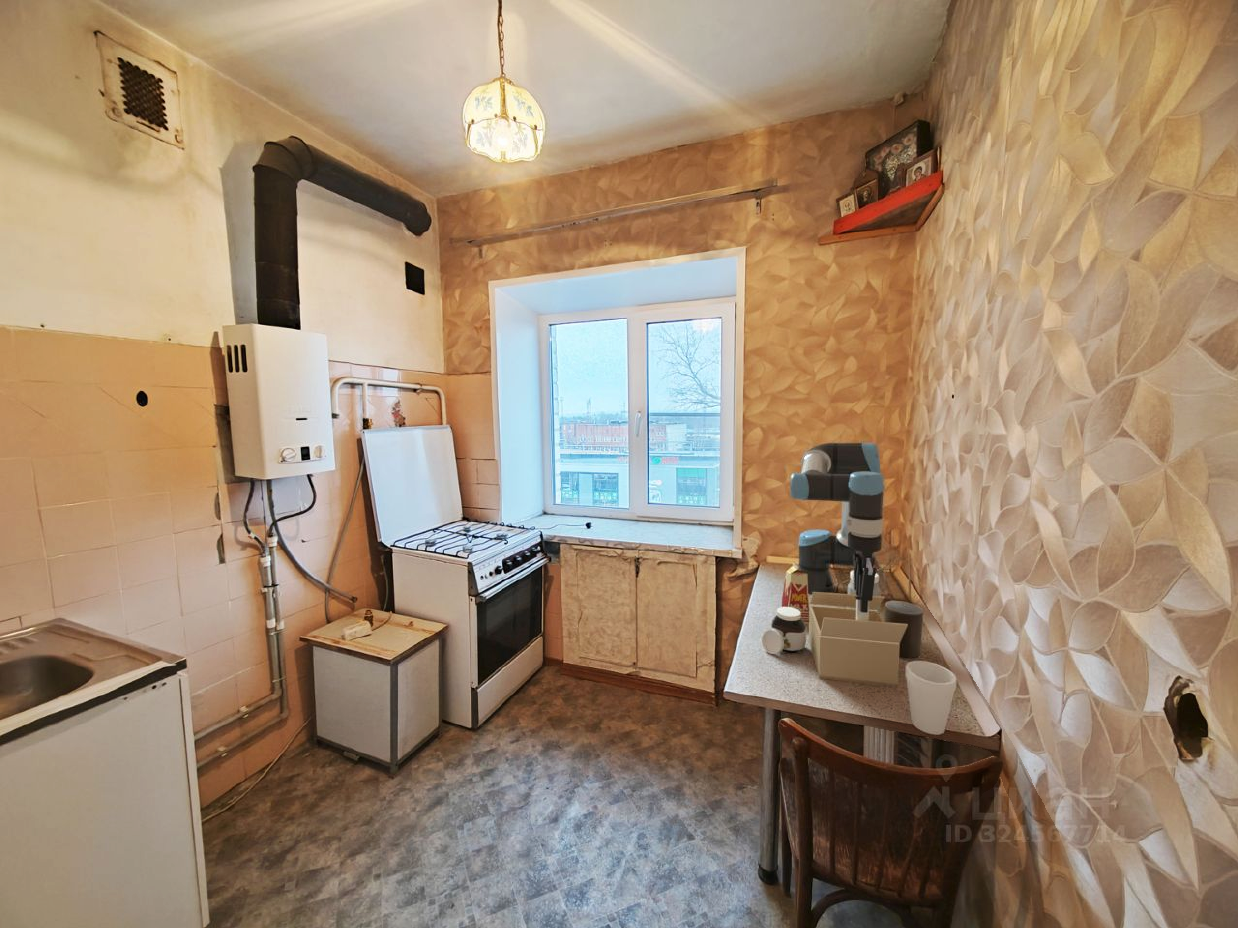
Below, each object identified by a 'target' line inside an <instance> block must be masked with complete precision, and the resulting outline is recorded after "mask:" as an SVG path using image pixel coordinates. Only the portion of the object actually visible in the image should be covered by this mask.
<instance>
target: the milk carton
mask: <svg viewBox="0 0 1238 928" xmlns="http://www.w3.org/2000/svg"><path fill="white" fill-rule="evenodd" d="M798 568H799V565H796V564H795V563H794V562H793V563H792V566H791V567H790V568H789V569H788V570H786V572H785V578H784V582H783V588H782V596H781V605H780V607H792V608H795V609H797V610H799V611H800V613H801V619H802V620H803V621H804V623H805V625H806V626H809V605H810V599H809V598H810V596H809V593H808V578H807V573H805V572H803V571H801V570H799V569H798Z"/></svg>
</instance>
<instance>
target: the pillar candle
mask: <svg viewBox="0 0 1238 928" xmlns="http://www.w3.org/2000/svg"><path fill="white" fill-rule="evenodd" d="M923 616H924V610H923V609H922V607H920V606H919V605H916V604H913V603H910V602H906V601H901V600H890V601H887V602H885V604H884V616H883V617H884V618H883V620H884V622H889V623H901V624H908V626H907V628H906V630H905V633H904V635H903V637H902V639H901V641H900V643H899V644H900V647H899V659H900V658H901V659H903V660H904V659H905V660H914V659H916V660H917V659H919V658H920V657H921V652H922V651H921V650H922V636H923V634H922V633H923V619H924V617H923Z"/></svg>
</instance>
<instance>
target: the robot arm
mask: <svg viewBox="0 0 1238 928" xmlns="http://www.w3.org/2000/svg"><path fill="white" fill-rule="evenodd" d="M880 459H881V458H880V452H879V446H878V445H877V444H876V443H873V442H863V441H862V442H826V443H822V444H818V445H815V446H813V447H811V448H809V449H808V450H806V451H805V452H804V453H803V455H802V456H801V459H800V468H801V472H795V473H792V474H791V475H790V486H789V487H790V491H789V492H790V493H789V494H790V497H791V498H792V499H795V500H802V501H827V502H841V503H842V504H841V523H840V526H841V528H840V529H839V530H838V531H837V533H836V535H835V534H834V535H832V533H831V532H830V530H827V529H808V530H805V531H803V532H801V533H800V535H799V538H798V544H797V546H798V566H799V568H798V569H799V570H801V571H803V572H805V573H807V578H808V594H812V593H813V592H824V593H833V592H834V590H835V584H834V583H835V582H834V580H833V577H832V573H831V571H830V568H831V567H830V566H831V565H832V566H833V565H834V566H841V567H850V568H853V570H854V590H856V595H857V596H855V599H856V620H864V621H869V601H872V599H873V589H874V581H875V575H876V573H877V571H878V570H877V568H876V567H874V566H875V565H876V564H875V563H876V562H875V561H876V559H875V557H874V556H875V553H877V552H880V551H881V550H882V546H883V545H882V542H883V536H882V534H883V526H884V525H883V524H884V517H883V509H884V493H885V492H884V491H885V483H884V481H885V480H884V475H883V474H882V471H881V460H880Z"/></svg>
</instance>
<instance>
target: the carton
mask: <svg viewBox="0 0 1238 928" xmlns="http://www.w3.org/2000/svg"><path fill="white" fill-rule="evenodd" d="M824 617H827V618H840V619H852V620H856V609H851V608H847V607H839V606H826V605H813V604H809V625H808V644H809V647H810V650H811V654H812V657H813V661H814V664H815V667H816V671H817V675H818V678H819V679H822V680H831V681H840V682H848V683H857V684H866V685H876V686H883V687H884V686H885V687H893V688H899V671H900V669H899V667H900V657H899V647H900V644H899V643H892V642H881V641H870V640H859V639H848V638H837V637H826V636H820V633H821V628H822V624H823V619H824ZM869 621H877V622H884V618H883V617H882V615H881V613H880V614H879V613H878V611H877V610H869Z"/></svg>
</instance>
